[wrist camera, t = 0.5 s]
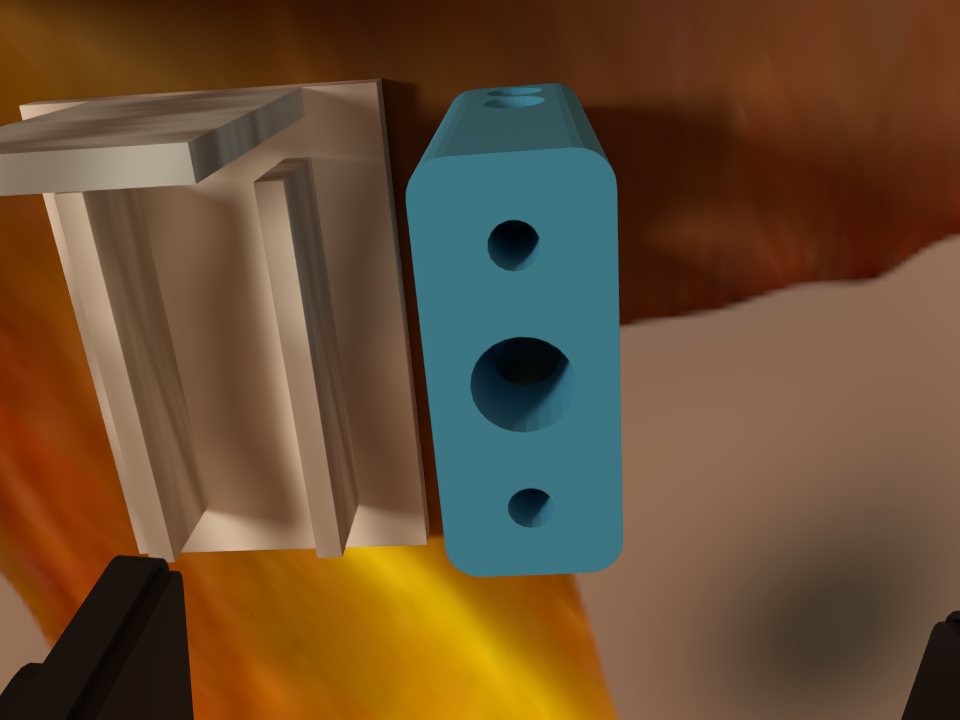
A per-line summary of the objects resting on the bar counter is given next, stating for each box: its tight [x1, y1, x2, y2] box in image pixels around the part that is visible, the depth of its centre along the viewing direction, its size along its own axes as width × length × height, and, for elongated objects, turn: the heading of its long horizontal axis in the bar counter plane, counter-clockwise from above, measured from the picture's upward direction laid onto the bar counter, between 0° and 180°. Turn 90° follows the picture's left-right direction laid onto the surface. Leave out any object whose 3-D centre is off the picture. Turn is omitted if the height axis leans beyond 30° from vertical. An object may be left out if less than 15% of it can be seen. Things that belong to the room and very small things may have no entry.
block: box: [406, 83, 623, 577], centre depth 32 cm, size 12×5×20 cm, turn 4°
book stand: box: [0, 79, 430, 562], centre depth 37 cm, size 16×24×16 cm, turn 4°
